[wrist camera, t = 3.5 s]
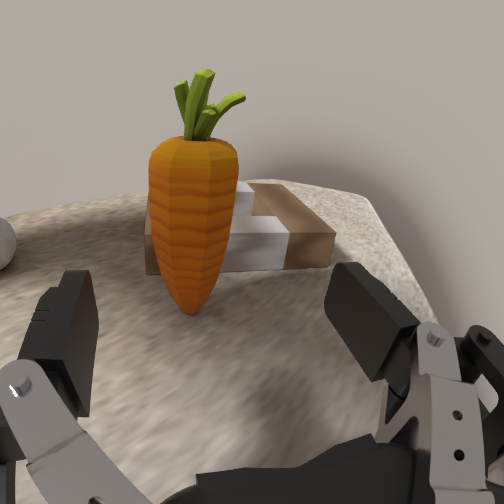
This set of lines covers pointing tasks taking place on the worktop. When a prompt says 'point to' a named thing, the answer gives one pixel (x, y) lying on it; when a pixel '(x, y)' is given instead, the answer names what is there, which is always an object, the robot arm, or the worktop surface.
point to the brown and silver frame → (266, 233)
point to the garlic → (6, 243)
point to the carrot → (193, 195)
